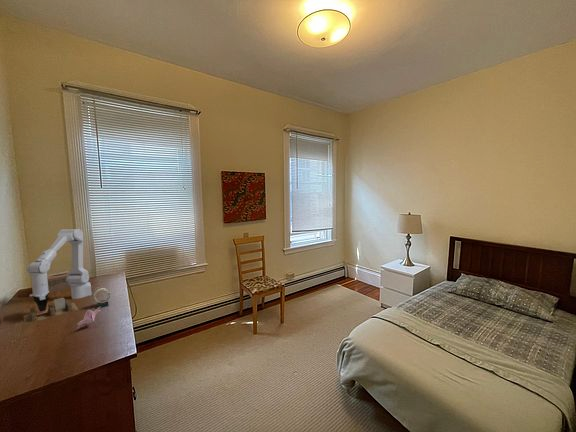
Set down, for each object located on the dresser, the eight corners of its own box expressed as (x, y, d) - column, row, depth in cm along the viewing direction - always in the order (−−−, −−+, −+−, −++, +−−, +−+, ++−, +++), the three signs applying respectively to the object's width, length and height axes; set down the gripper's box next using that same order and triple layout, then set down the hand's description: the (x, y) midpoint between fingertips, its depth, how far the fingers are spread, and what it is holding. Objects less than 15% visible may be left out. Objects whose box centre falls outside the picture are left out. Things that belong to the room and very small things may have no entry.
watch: (112, 306, 137) (111, 288, 136) (94, 311, 131) (93, 291, 130) (111, 303, 141) (110, 285, 140) (94, 307, 135) (92, 289, 135)
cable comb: (73, 304, 140) (73, 297, 140) (78, 311, 132) (78, 304, 131) (23, 317, 125) (22, 310, 125) (25, 326, 116) (24, 318, 116)
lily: (107, 320, 124) (96, 304, 123) (113, 317, 117) (102, 301, 116) (80, 338, 114) (68, 321, 113) (85, 336, 107) (72, 319, 106)
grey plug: (64, 307, 134) (63, 297, 133) (65, 309, 131) (64, 299, 131) (54, 310, 131) (53, 299, 130) (55, 312, 128) (54, 301, 128)
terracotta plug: (46, 309, 128) (46, 299, 128) (47, 312, 126) (46, 301, 125) (36, 312, 125) (35, 301, 125) (37, 315, 123) (35, 303, 122)
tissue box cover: (82, 281, 180) (81, 268, 179) (86, 285, 171) (85, 272, 170) (32, 291, 161) (31, 277, 160) (34, 297, 151) (32, 282, 150)
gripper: (27, 283, 126) (30, 308, 127) (29, 290, 117) (32, 316, 118) (46, 279, 131) (48, 303, 132) (50, 285, 122) (52, 311, 123)
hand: (42, 309), depth 125 cm, fingers closed on terracotta plug, 4 cm apart
